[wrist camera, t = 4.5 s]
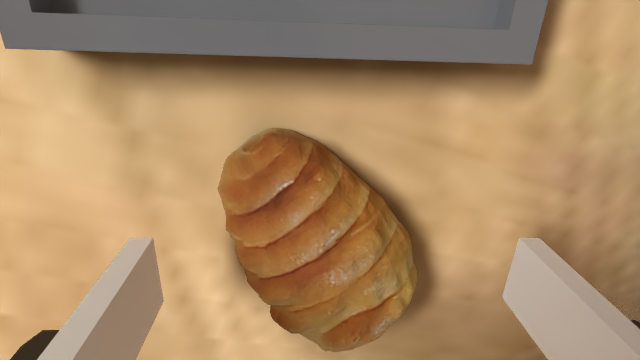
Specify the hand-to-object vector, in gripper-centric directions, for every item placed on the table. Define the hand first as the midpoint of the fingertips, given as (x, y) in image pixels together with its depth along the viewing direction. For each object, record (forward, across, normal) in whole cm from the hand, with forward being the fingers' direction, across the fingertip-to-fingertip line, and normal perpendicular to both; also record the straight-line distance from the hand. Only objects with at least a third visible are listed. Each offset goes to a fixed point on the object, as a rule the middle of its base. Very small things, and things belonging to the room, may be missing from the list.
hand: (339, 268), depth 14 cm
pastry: (+4, -1, -1) cm, 4 cm away
